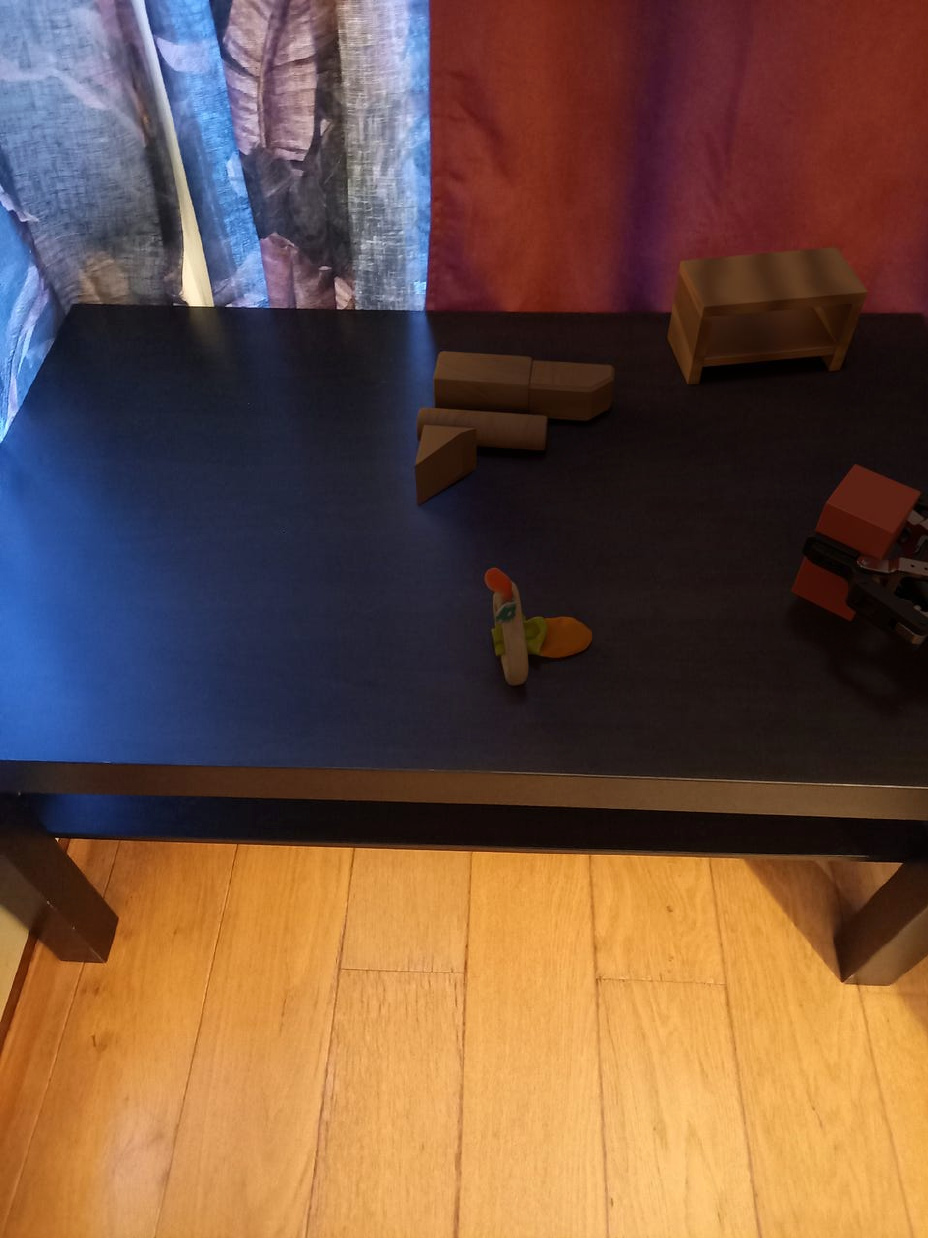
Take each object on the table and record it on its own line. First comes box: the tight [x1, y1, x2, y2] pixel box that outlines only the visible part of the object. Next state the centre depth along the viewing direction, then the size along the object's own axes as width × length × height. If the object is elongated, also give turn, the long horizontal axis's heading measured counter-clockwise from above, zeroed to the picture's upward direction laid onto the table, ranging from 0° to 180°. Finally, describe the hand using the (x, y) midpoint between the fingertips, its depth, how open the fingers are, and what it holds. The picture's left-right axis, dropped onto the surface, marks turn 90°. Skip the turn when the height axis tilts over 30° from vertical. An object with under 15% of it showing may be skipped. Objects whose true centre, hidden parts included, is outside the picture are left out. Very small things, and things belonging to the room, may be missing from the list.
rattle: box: [484, 567, 593, 686], centre depth 70 cm, size 8×8×12 cm
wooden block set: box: [414, 350, 616, 506], centre depth 87 cm, size 17×6×18 cm
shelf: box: [666, 246, 869, 386], centre depth 95 cm, size 16×8×9 cm, turn 97°
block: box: [790, 463, 922, 622], centre depth 71 cm, size 5×5×10 cm
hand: (824, 520), depth 71 cm, fingers closed on block, 5 cm apart
